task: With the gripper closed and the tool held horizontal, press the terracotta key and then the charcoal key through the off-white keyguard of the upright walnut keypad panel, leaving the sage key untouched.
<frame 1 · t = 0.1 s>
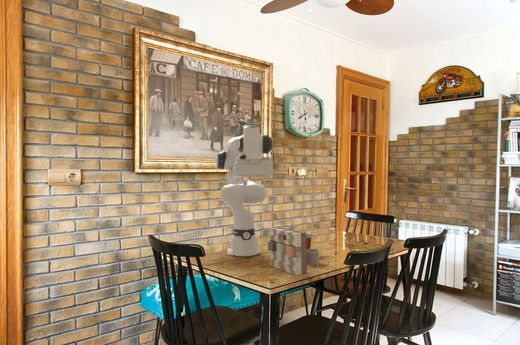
hand: (254, 184, 197), 39 cm above the table, tool pointing down, fingers open, 8 cm apart
terracotta key: (290, 251, 175), point 10 cm above the table, slide at 0.0 cm
sage key: (281, 248, 182), point 10 cm above the table, slide at 0.0 cm
charcoal key: (272, 245, 188), point 10 cm above the table, slide at 0.0 cm
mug: (309, 264, 194), on the table
keypad panel: (287, 269, 183), on the table
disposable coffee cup: (303, 255, 214), on the table
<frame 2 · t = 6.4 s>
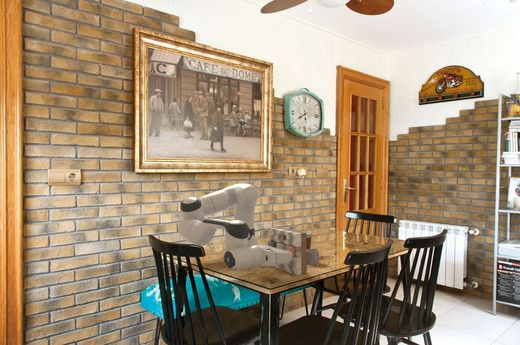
hand: (288, 251, 174), 10 cm above the table, tool horizontal, fingers closed, pressing on terracotta key
terracotta key: (291, 251, 175), point 10 cm above the table, slide at 0.2 cm, touching gripper
everything else where it was.
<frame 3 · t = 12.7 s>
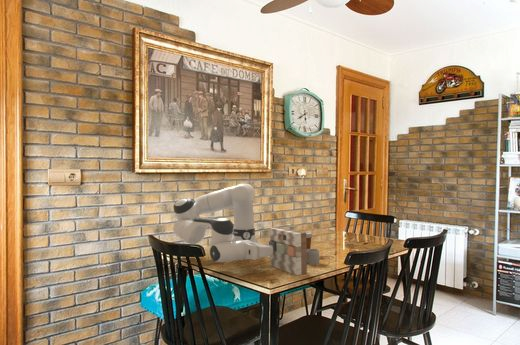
hand: (271, 246, 187), 10 cm above the table, tool horizontal, fingers closed, pressing on charcoal key
terracotta key: (293, 250, 176), point 10 cm above the table, slide at 1.3 cm
charcoal key: (273, 245, 188), point 10 cm above the table, slide at 0.5 cm, touching gripper
everything else where it was.
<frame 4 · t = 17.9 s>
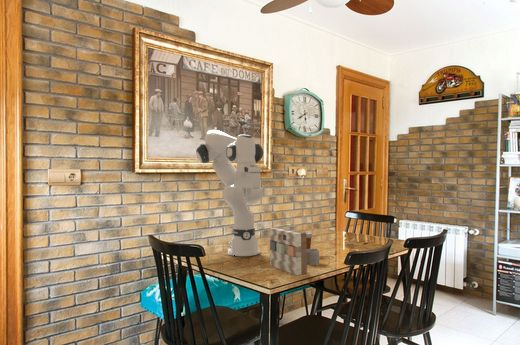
hand: (246, 197, 186), 33 cm above the table, tool pointing down, fingers closed
charcoal key: (275, 245, 189), point 10 cm above the table, slide at 1.3 cm
everything else where it was.
at the end: terracotta key slide at 1.3 cm; charcoal key slide at 1.3 cm; sage key slide at 0.0 cm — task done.
